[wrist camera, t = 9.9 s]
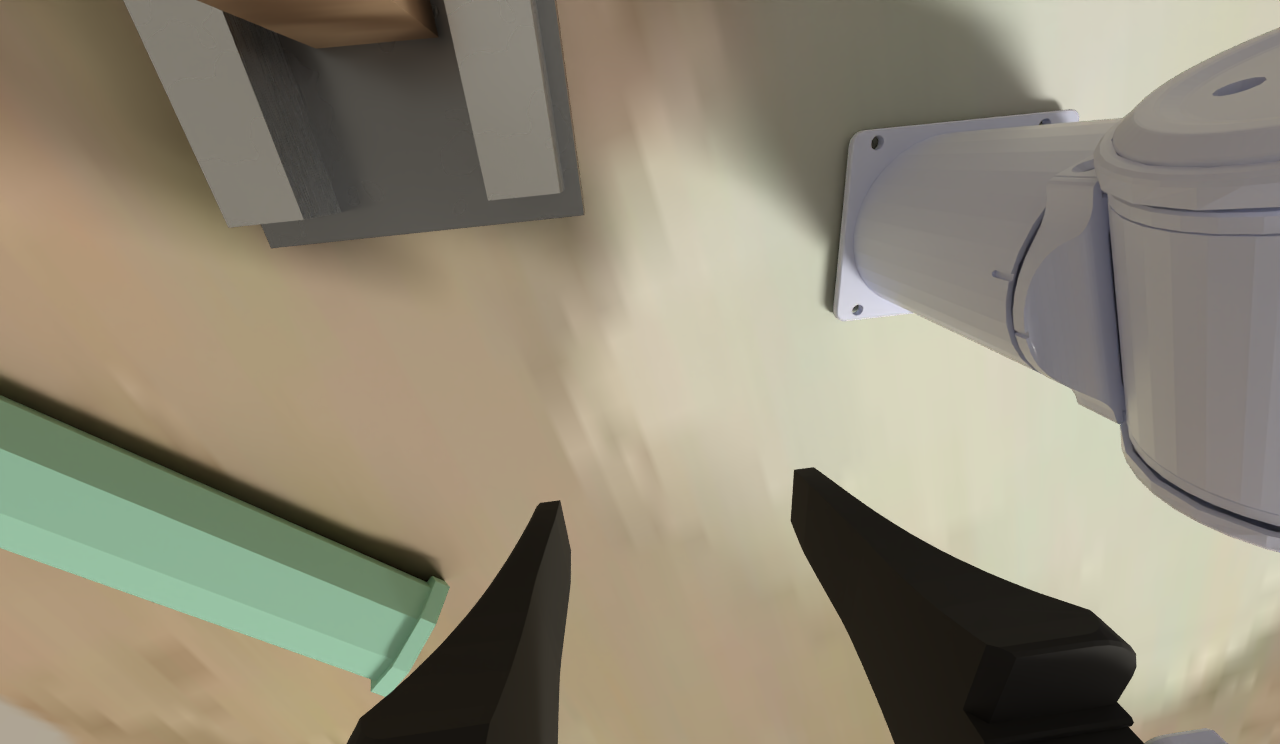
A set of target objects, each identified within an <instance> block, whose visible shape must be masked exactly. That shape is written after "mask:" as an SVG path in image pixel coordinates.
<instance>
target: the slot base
mask: <svg viewBox="0 0 1280 744" xmlns="http://www.w3.org/2000/svg"><path fill="white" fill-rule="evenodd" d="M123 1H124V3H125V5H126V7H127V9H128V11H129V14H130V16H131V18H132V20H133V22H134V24H135V27H136V29H137V31H138V33H139V35H140V37H141V40H142V42H143V44H144V46H145V48H146V50H147V52H148V55H149V57H150V59H151V61H152V63H153V65H154V68H155V70H156V72H157V74H158V76H159V78H160V81H161V83H162V85H163V87H164V89H165V91H166V94H167V96H168V98H169V100H170V102H171V104H172V107H173V109H174V111H175V113H176V115H177V117H178V120H179V122H180V124H181V126H182V128H183V130H184V132H185V135H186V137H187V139H188V141H189V143H190V145H191V148H192V150H193V152H194V154H195V156H196V158H197V161H198V163H199V165H200V167H201V169H202V171H203V174H204V176H205V178H206V180H207V182H208V184H209V187H210V189H211V191H212V193H213V195H214V197H215V200H216V202H217V204H218V206H219V208H220V210H221V213H222V215H223V217H224V219H225V221H226V223H227V225H228V228H229V227H239V226H249V225H258V224H261V226H262V228H263V230H264V233H265V235H266V237H267V240H268V242H269V244H270V247H271V248H278V247H287V246H297V245H306V244H316V243H325V242H335V241H344V240H354V239H363V238H373V237H382V236H391V235H401V234H410V233H420V232H429V231H439V230H448V229H458V228H467V227H476V226H486V225H495V224H505V223H514V222H524V221H533V220H543V219H552V218H562V217H571V216H580V215H584V214H585V209H584V202H583V194H582V187H581V180H580V172H579V165H578V158H577V150H576V143H575V136H574V128H573V121H572V114H571V106H570V99H569V92H568V84H567V77H566V70H565V62H564V55H563V48H562V40H561V33H560V26H559V18H558V11H557V4H556V0H430V2H431V7H432V11H433V15H434V19H435V24H436V28H437V32H438V37H437V38H426V39H415V40H404V41H394V42H383V43H372V44H361V45H350V46H340V47H329V48H318V49H316V48H313V47H311V46H308V45H306V44H303V43H301V42H298V41H296V40H293V39H291V38H288V37H286V36H284V35H281V34H279V33H276V32H274V31H271V30H269V29H266V28H264V27H261V26H259V25H256V24H254V23H251V22H249V21H247V20H244V19H242V18H239V17H237V16H234V15H232V14H229V13H227V12H224V11H222V10H219V9H217V8H215V7H212V6H210V5H207V4H205V3H202V2H200V1H197V0H123Z"/></svg>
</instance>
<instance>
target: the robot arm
mask: <svg viewBox="0 0 1280 744" xmlns="http://www.w3.org/2000/svg"><path fill="white" fill-rule="evenodd" d="M1041 121H1042V125H1039V124H1040V122H1041ZM875 136H876V137H877V138H878V145H877V147H876V148H875V149H874V150H873V148H872V147H871V142H872V139H873V138H874V137H875ZM856 305H859V308H858V310H857V311H856V312H854V313H852V310H853V308H854V307H855V306H856ZM833 313H834V315H835V317H836V318H838V319H839V320H841V321H851V320H860V319H868V318H877V317H885V316H894V315H902V314H911V313H915V314H917V315H919V316H921V317H923V318H925V319H927V320H929V321H931V322H934V323H936V324H938V325H940V326H942V327H944V328H946V329H948V330H950V331H952V332H955V333H957V334H959V335H961V336H963V337H965V338H967V339H969V340H971V341H974V342H976V343H978V344H980V345H982V346H984V347H986V348H988V349H990V350H992V351H995V352H997V353H999V354H1001V355H1003V356H1005V357H1007V358H1009V359H1011V360H1014V361H1016V362H1018V363H1020V364H1022V365H1024V366H1026V367H1028V368H1030V369H1033V370H1035V371H1037V372H1039V373H1041V374H1043V375H1045V376H1046V377H1048V378H1050V379H1052V380H1054V381H1057V382H1059V383H1061V384H1063V385H1065V386H1067V387H1069V388H1071V389H1072V391H1073V392H1074V393H1075V395H1076V399H1077V402H1078V404H1080V405H1082V406H1084V407H1086V408H1088V409H1090V410H1092V411H1094V412H1096V413H1098V414H1100V415H1102V416H1104V417H1106V418H1108V419H1110V420H1112V421H1114V422H1116V423H1118V424H1121V425H1120V430H1121V446H1122V451H1123V454H1124V456H1125V459H1126V462H1127V463H1128V465H1129V466H1130V468H1131V469H1132V471H1133V472H1134V474H1135V475H1136V477H1137V478H1138V479H1139V480H1140V481H1141V482H1142V483H1143V484H1144V485H1145V486H1146V487H1147V488H1148V489H1149V490H1150V491H1151V492H1152V493H1153V494H1154V495H1156V496H1157V497H1158V498H1160V499H1161V500H1163V501H1164V502H1165V503H1167V504H1168V505H1169V506H1171V507H1172V508H1174V509H1176V510H1177V511H1179V512H1181V513H1183V514H1184V515H1186V516H1188V517H1190V518H1191V519H1193V520H1195V521H1197V522H1199V523H1201V524H1203V525H1205V526H1208V527H1210V528H1212V529H1214V530H1217V531H1219V532H1221V533H1223V534H1226V535H1228V536H1230V537H1233V538H1236V539H1239V540H1242V541H1245V542H1248V543H1251V544H1253V545H1256V546H1259V547H1262V548H1265V549H1268V550H1272V551H1276V552H1280V27H1279V28H1277V29H1274V30H1272V31H1269V32H1267V33H1265V34H1262V35H1260V36H1257V37H1255V38H1253V39H1250V40H1248V41H1246V42H1243V43H1241V44H1239V45H1237V46H1234V47H1232V48H1230V49H1228V50H1226V51H1223V52H1221V53H1219V54H1217V55H1215V56H1213V57H1211V58H1209V59H1207V60H1205V61H1203V62H1201V63H1199V64H1197V65H1195V66H1193V67H1191V68H1189V69H1188V70H1186V71H1184V72H1182V73H1180V74H1179V75H1177V76H1175V77H1174V78H1172V79H1170V80H1169V81H1167V82H1166V83H1164V84H1163V85H1161V86H1160V87H1158V88H1157V89H1155V90H1154V91H1153V92H1151V93H1150V94H1149V95H1148V96H1146V97H1145V98H1144V99H1143V100H1142V101H1141V102H1140V103H1139V104H1138V105H1137V106H1136V107H1135V108H1134V109H1133V110H1132V111H1131V112H1130V113H1128V114H1127V115H1126V116H1125V117H1123V118H1116V119H1104V120H1093V121H1081V122H1079V114H1078V112H1077V111H1076V110H1072V109H1069V110H1059V111H1049V112H1040V113H1030V114H1020V115H1010V116H1000V117H990V118H980V119H970V120H960V121H950V122H940V123H931V124H921V125H911V126H901V127H891V128H881V129H871V130H862V131H859V132H857V133H856V134H854V135H853V137H852V138H851V140H850V143H849V149H848V160H847V170H846V181H845V192H844V202H843V213H842V223H841V234H840V244H839V255H838V265H837V276H836V286H835V297H834V308H833ZM791 523H792V525H793V528H794V530H795V533H796V535H797V538H798V540H799V543H800V545H801V547H802V550H803V552H804V554H805V556H806V558H807V559H808V561H809V563H810V565H811V567H812V568H813V570H814V572H815V574H816V576H817V577H818V579H819V581H820V583H821V585H822V586H823V588H824V590H825V592H826V593H827V595H828V597H829V599H830V601H831V602H832V604H833V606H834V608H835V609H836V611H837V613H838V615H839V617H840V618H841V620H842V622H843V624H844V626H845V628H846V630H847V632H848V634H849V636H850V638H851V640H852V643H853V645H854V647H855V649H856V652H857V654H858V656H859V658H860V661H861V663H862V665H863V667H864V670H865V672H866V674H867V677H868V679H869V681H870V684H871V686H872V689H873V691H874V693H875V696H876V698H877V700H878V703H879V705H880V708H881V710H882V713H883V715H884V718H885V720H886V723H887V725H888V728H889V730H890V733H891V735H892V738H893V740H894V743H895V744H1228V743H1227V742H1226V741H1224V740H1223V739H1222V738H1221V737H1220V736H1219V735H1218V734H1217V733H1216V732H1215V731H1214V730H1211V729H1207V728H1204V729H1198V730H1191V731H1185V732H1179V733H1172V734H1166V735H1161V736H1158V737H1154V738H1152V739H1150V740H1149V741H1147V742H1146V743H1143V742H1142V741H1141V740H1140V739H1139V738H1138V736H1137V735H1136V734H1135V733H1134V732H1133V731H1132V730H1131V729H1130V728H1129V726H1132V725H1133V723H1134V722H1133V720H1132V717H1131V716H1130V715H1129V714H1128V713H1127V712H1126V711H1125V710H1124V709H1123V708H1122V707H1121V706H1120V705H1119V704H1118V703H1117V701H1118V699H1119V698H1120V696H1121V694H1122V693H1123V691H1124V689H1125V688H1126V686H1127V685H1128V683H1129V681H1130V680H1131V678H1132V676H1133V674H1134V671H1135V669H1136V653H1135V652H1134V650H1133V649H1132V647H1131V646H1130V645H1129V644H1127V643H1126V642H1125V641H1124V640H1123V639H1122V638H1121V637H1120V636H1119V635H1117V634H1116V633H1115V632H1114V631H1113V630H1112V629H1111V628H1110V627H1109V626H1108V625H1106V624H1105V623H1104V622H1103V621H1102V620H1101V619H1100V618H1099V617H1098V616H1096V615H1095V614H1094V613H1093V612H1092V611H1091V610H1088V609H1085V608H1082V607H1079V606H1076V605H1073V604H1070V603H1067V602H1064V601H1061V600H1058V599H1055V598H1052V597H1049V596H1046V595H1043V594H1040V593H1038V592H1035V591H1032V590H1030V589H1027V588H1024V587H1022V586H1019V585H1017V584H1014V583H1012V582H1009V581H1007V580H1004V579H1002V578H999V577H997V576H995V575H992V574H990V573H988V572H985V571H983V570H981V569H979V568H976V567H974V566H972V565H970V564H968V563H966V562H963V561H961V560H959V559H957V558H955V557H953V556H951V555H949V554H947V553H945V552H943V551H941V550H939V549H937V548H936V547H934V546H932V545H930V544H928V543H926V542H924V541H923V540H921V539H919V538H917V537H915V536H914V535H912V534H910V533H908V532H907V531H905V530H904V529H902V528H900V527H899V526H897V525H896V524H894V523H892V522H891V521H889V520H888V519H886V518H884V517H883V516H881V515H880V514H878V513H877V512H875V511H874V510H872V509H871V508H869V507H868V506H866V505H865V504H864V503H862V502H861V501H859V500H858V499H857V498H855V497H854V496H852V495H851V494H850V493H848V492H847V491H845V490H844V489H843V488H841V487H840V486H839V485H837V484H836V483H834V482H833V481H832V480H830V479H829V478H828V477H826V476H825V475H824V474H822V473H821V472H820V471H818V470H817V469H815V468H814V467H813V468H805V469H797V470H794V480H793V495H792V510H791ZM570 583H571V549H570V544H569V539H568V535H567V530H566V525H565V521H564V516H563V511H562V507H561V502H560V500H559V501H552V502H544V503H540V504H539V505H538V506H537V507H536V509H535V511H534V513H533V515H532V517H531V519H530V521H529V523H528V525H527V527H526V529H525V530H524V532H523V534H522V536H521V538H520V539H519V541H518V543H517V544H516V546H515V548H514V549H513V551H512V553H511V554H510V556H509V558H508V559H507V561H506V562H505V564H504V565H503V567H502V568H501V570H500V571H499V573H498V574H497V576H496V577H495V579H494V580H493V582H492V583H491V584H490V586H489V587H488V589H487V590H486V591H485V593H484V594H483V595H482V597H481V598H480V599H479V601H478V602H477V603H476V604H475V606H474V607H473V608H472V609H471V611H470V612H469V613H468V614H467V616H466V617H465V618H464V619H463V620H462V621H461V623H460V624H459V625H458V626H457V627H456V628H455V630H454V631H453V632H452V633H451V634H450V635H449V636H448V637H447V639H446V640H445V641H444V642H443V643H442V644H441V645H440V646H439V647H438V648H437V649H436V650H435V651H434V652H433V653H432V654H431V655H430V656H429V657H428V658H427V659H426V660H425V661H424V662H423V663H422V664H421V665H420V666H419V667H418V668H417V669H416V670H415V671H414V672H413V673H412V674H411V675H410V676H409V677H408V678H406V679H405V680H404V681H403V682H402V683H401V684H400V685H399V686H398V687H396V688H395V689H394V690H393V691H392V692H391V693H389V694H388V695H387V696H386V697H385V698H384V699H382V700H381V701H380V702H379V703H378V704H376V705H375V706H374V707H373V708H372V709H371V710H369V711H368V712H367V713H366V714H365V715H363V716H362V717H361V718H360V719H359V721H358V723H357V725H356V727H355V729H354V731H353V733H352V735H351V736H350V738H349V740H348V742H347V744H558V711H559V682H560V667H561V657H562V649H563V641H564V633H565V625H566V617H567V609H568V601H569V592H570Z"/></svg>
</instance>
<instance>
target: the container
mask: <svg viewBox="0 0 1280 744" xmlns="http://www.w3.org/2000/svg"><path fill="white" fill-rule="evenodd" d="M0 548H2V549H5V550H8V551H10V552H13V553H16V554H19V555H22V556H24V557H27V558H30V559H33V560H36V561H39V562H41V563H44V564H47V565H50V566H53V567H56V568H58V569H61V570H64V571H67V572H70V573H73V574H75V575H78V576H81V577H84V578H87V579H89V580H92V581H95V582H98V583H101V584H104V585H106V586H109V587H112V588H115V589H118V590H121V591H123V592H126V593H129V594H132V595H135V596H137V597H140V598H143V599H146V600H149V601H152V602H154V603H157V604H160V605H163V606H166V607H169V608H171V609H174V610H177V611H180V612H183V613H186V614H188V615H191V616H194V617H197V618H200V619H202V620H205V621H208V622H211V623H214V624H217V625H219V626H222V627H225V628H228V629H231V630H234V631H236V632H239V633H242V634H245V635H248V636H250V637H253V638H256V639H259V640H262V641H265V642H267V643H270V644H273V645H276V646H279V647H282V648H284V649H287V650H290V651H293V652H296V653H298V654H301V655H304V656H307V657H310V658H313V659H315V660H318V661H321V662H324V663H327V664H330V665H332V666H335V667H338V668H341V669H344V670H347V671H349V672H352V673H355V674H358V675H361V676H363V677H366V678H369V679H371V692H373V693H376V694H379V695H382V696H385V697H386V696H387V695H388V694H389V693H391V692H392V691H393V690H394V689H395V688H396V686H397V685H398V684H399V683H400V682H401V681H402V680H403V679H404V677H405V676H406V675H407V674H408V673H409V671H410V669H411V668H412V666H413V664H414V662H415V661H416V659H417V657H418V655H419V654H420V652H421V650H422V648H423V646H424V645H425V643H426V641H427V639H428V638H429V636H430V634H431V632H432V630H433V629H434V627H435V625H436V623H437V620H438V617H439V615H440V612H441V609H442V607H443V604H444V601H445V598H446V596H447V593H448V590H449V588H450V587H449V586H448V584H447V583H446V582H445V581H443V580H441V579H439V578H436V577H434V576H431V578H430V579H429V580H428V581H427V582H425V581H423V580H421V579H419V578H416V577H414V576H412V575H410V574H407V573H405V572H403V571H400V570H398V569H396V568H394V567H391V566H389V565H387V564H385V563H382V562H380V561H378V560H375V559H373V558H371V557H369V556H366V555H364V554H362V553H360V552H357V551H355V550H353V549H351V548H348V547H346V546H344V545H341V544H339V543H337V542H335V541H332V540H330V539H328V538H326V537H323V536H321V535H319V534H316V533H314V532H312V531H310V530H307V529H305V528H303V527H301V526H298V525H296V524H294V523H291V522H289V521H287V520H285V519H282V518H280V517H278V516H276V515H273V514H271V513H269V512H267V511H264V510H262V509H260V508H257V507H255V506H253V505H251V504H248V503H246V502H244V501H241V500H239V499H237V498H235V497H232V496H230V495H228V494H225V493H223V492H221V491H219V490H216V489H214V488H212V487H210V486H207V485H205V484H203V483H200V482H198V481H196V480H194V479H191V478H189V477H187V476H184V475H182V474H180V473H178V472H175V471H173V470H171V469H168V468H166V467H164V466H162V465H159V464H157V463H155V462H152V461H150V460H148V459H146V458H143V457H141V456H139V455H136V454H134V453H132V452H130V451H127V450H125V449H123V448H120V447H118V446H116V445H114V444H111V443H109V442H107V441H104V440H102V439H100V438H98V437H95V436H93V435H91V434H88V433H86V432H84V431H82V430H79V429H77V428H75V427H72V426H70V425H68V424H66V423H63V422H61V421H59V420H56V419H54V418H52V417H50V416H47V415H45V414H43V413H40V412H38V411H36V410H34V409H31V408H29V407H27V406H24V405H22V404H20V403H18V402H15V401H13V400H11V399H8V398H6V397H4V396H2V395H0Z"/></svg>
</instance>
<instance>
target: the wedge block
mask: <svg viewBox="0 0 1280 744" xmlns="http://www.w3.org/2000/svg"><path fill="white" fill-rule="evenodd" d="M197 1H200V2H202V3H205V4H207V5H210V6H212V7H215V8H217V9H219V10H222V11H224V12H227V13H229V14H232V15H234V16H237V17H239V18H242V19H244V20H247V21H249V22H251V23H254V24H256V25H259V26H261V27H264V28H266V29H269V30H271V31H274V32H276V33H279V34H281V35H284V36H286V37H288V38H291V39H293V40H296V41H298V42H301V43H303V44H306V45H308V46H311V47H313V48H316V49H318V48H329V47H340V46H350V45H361V44H372V43H383V42H394V41H404V40H415V39H426V38H437V37H438V32H437V28H436V24H435V19H434V15H433V11H432V7H431V2H430V0H197Z"/></svg>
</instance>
